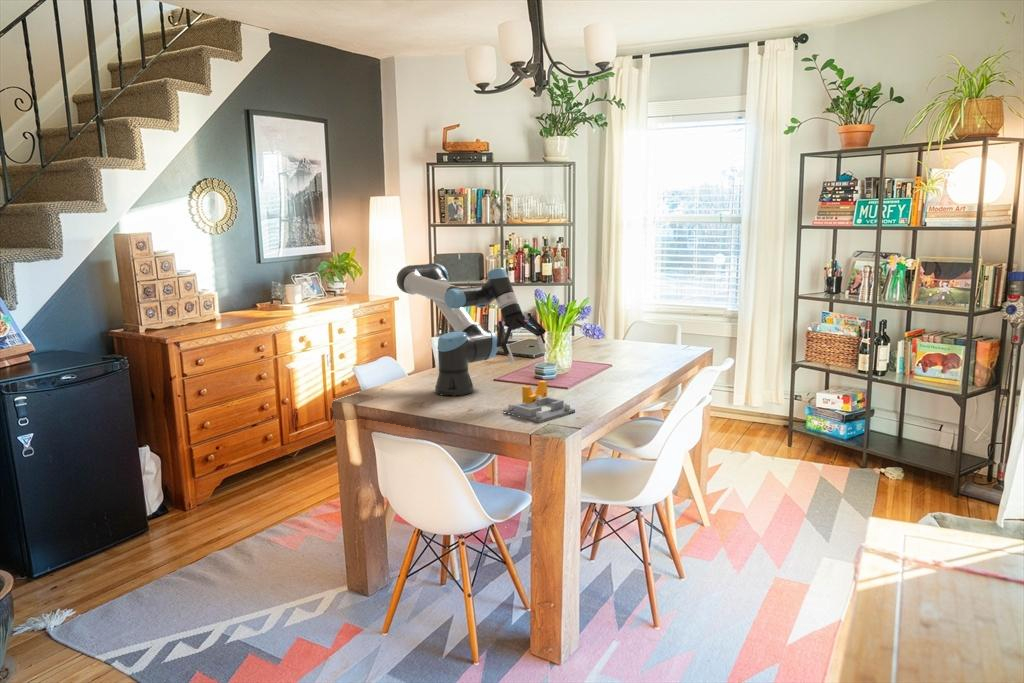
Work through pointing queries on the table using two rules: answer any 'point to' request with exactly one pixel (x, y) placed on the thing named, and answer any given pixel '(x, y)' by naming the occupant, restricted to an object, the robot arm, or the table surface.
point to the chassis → (540, 409)
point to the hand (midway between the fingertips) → (528, 357)
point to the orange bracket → (532, 397)
